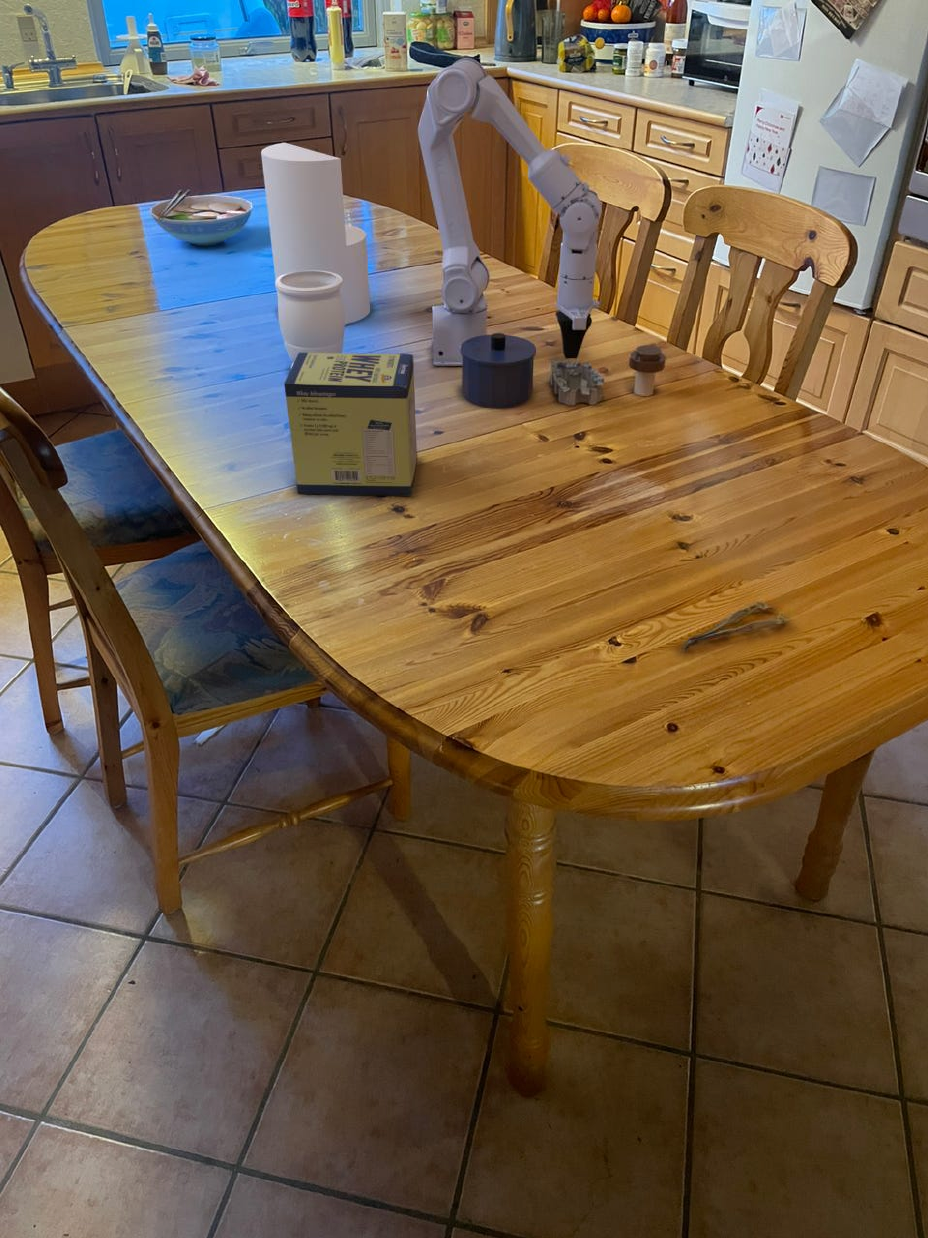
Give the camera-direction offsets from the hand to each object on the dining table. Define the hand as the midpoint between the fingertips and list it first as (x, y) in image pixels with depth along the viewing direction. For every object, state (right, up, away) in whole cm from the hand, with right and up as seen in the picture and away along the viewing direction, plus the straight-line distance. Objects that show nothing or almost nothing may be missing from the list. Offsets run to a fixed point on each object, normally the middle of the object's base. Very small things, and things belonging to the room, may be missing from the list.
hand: (570, 356), depth 159 cm
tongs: (+11, -46, -57) cm, 74 cm away
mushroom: (+11, -8, -7) cm, 15 cm away
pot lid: (-13, -2, -12) cm, 18 cm away
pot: (-13, -8, -8) cm, 17 cm away
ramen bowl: (-77, +43, +59) cm, 106 cm away
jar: (-42, -3, -1) cm, 42 cm away
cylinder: (-44, +15, +22) cm, 52 cm away
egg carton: (0, -8, -7) cm, 11 cm away
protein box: (-32, -25, -30) cm, 50 cm away
